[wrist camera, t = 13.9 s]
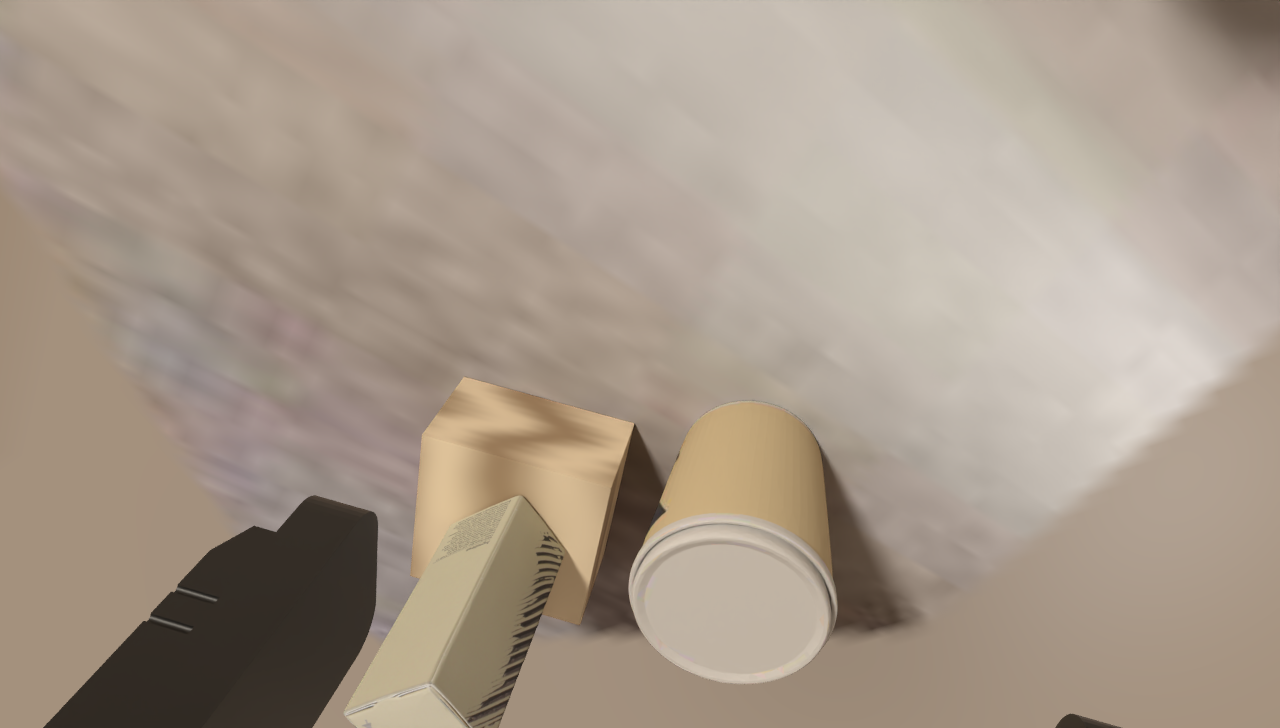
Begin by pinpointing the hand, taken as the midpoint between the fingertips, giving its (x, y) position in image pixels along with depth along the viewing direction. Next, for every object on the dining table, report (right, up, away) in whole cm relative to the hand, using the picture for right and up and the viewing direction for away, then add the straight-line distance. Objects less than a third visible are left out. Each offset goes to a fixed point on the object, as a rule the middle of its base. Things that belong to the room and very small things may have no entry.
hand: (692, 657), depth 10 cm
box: (-7, -6, +38) cm, 39 cm away
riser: (-7, -3, +43) cm, 43 cm away
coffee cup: (+6, -2, +40) cm, 40 cm away
